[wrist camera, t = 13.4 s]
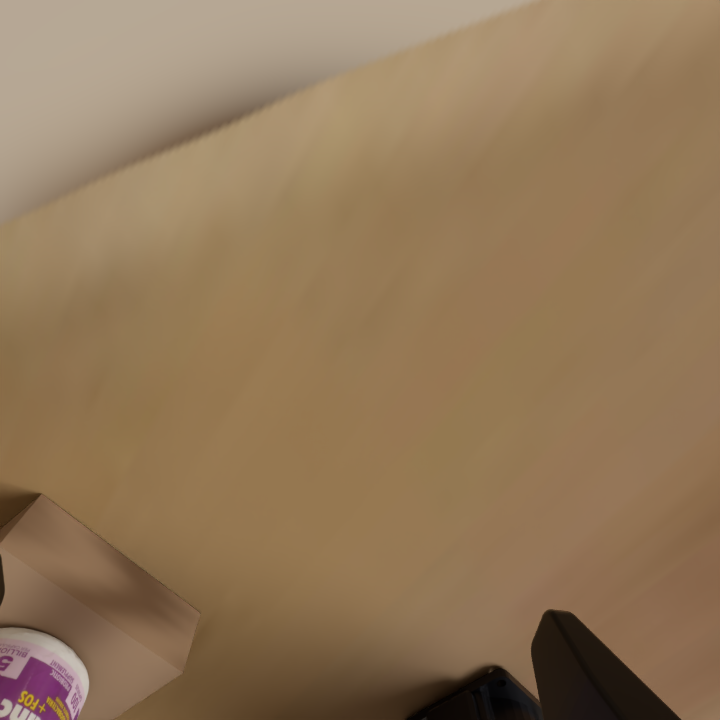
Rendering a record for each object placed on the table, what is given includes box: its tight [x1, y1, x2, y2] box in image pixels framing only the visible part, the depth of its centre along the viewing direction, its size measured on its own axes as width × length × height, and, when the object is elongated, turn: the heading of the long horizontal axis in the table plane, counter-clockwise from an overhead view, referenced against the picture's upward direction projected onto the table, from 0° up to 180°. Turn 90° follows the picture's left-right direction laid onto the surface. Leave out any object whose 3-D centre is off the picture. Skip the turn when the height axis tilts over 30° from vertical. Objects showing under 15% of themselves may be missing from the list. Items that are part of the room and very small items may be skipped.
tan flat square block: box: [0, 494, 201, 720], centre depth 23 cm, size 9×9×3 cm
